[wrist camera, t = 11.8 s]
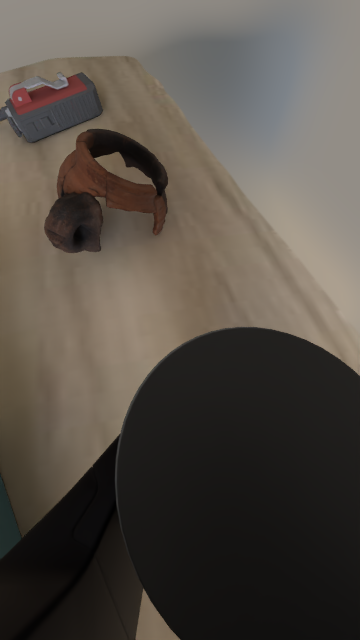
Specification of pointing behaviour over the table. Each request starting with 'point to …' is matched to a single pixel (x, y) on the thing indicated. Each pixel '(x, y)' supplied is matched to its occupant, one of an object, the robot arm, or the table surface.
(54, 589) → the robot arm
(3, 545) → the step shelf
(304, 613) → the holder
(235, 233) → the table surface
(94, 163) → the brown looped band
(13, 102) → the walkie-talkie
